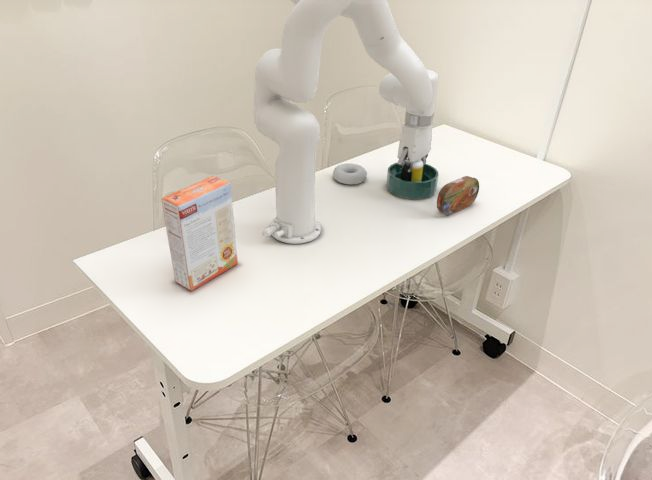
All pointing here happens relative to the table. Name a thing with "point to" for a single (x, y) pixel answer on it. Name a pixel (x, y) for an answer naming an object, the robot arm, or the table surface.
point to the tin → (457, 195)
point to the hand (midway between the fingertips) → (411, 179)
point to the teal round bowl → (412, 183)
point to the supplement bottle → (416, 170)
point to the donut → (349, 173)
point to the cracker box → (200, 231)
